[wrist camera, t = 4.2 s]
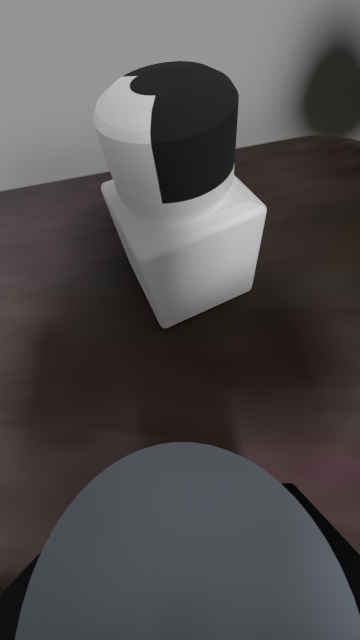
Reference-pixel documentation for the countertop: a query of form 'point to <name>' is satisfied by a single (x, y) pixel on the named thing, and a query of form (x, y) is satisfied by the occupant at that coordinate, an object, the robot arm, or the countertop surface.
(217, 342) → the countertop surface
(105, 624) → the grey-topped white cylinder
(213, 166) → the medicine bottle
